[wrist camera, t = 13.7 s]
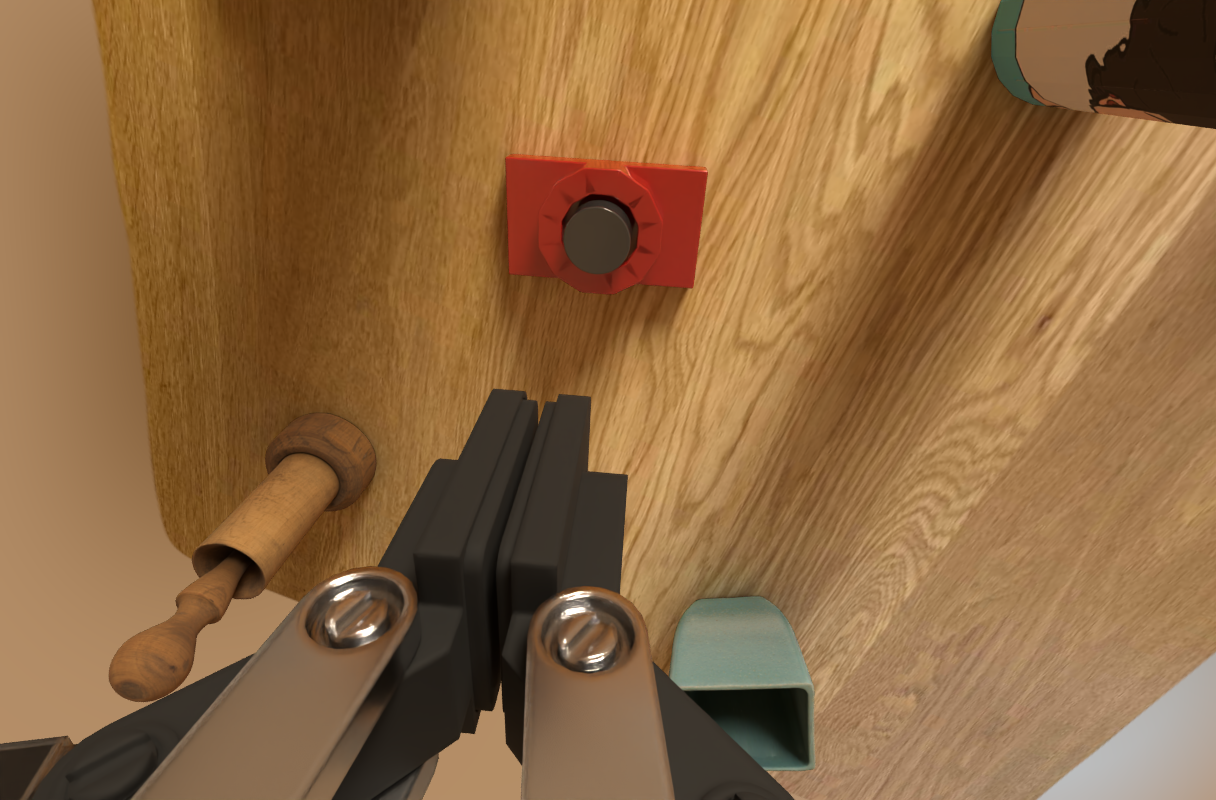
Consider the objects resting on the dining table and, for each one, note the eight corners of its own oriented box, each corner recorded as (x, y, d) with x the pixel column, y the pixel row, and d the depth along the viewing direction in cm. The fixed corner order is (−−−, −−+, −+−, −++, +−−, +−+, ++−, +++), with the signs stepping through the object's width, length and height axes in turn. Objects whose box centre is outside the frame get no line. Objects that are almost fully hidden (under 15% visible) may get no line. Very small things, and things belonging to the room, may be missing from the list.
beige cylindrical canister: (1002, 131, 29) (1277, 194, 16) (979, -26, 26) (1291, -108, 13) (1166, 64, 27) (1632, 72, 14) (1161, -113, 24) (1739, -310, 11)
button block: (513, 268, 34) (500, 286, 32) (510, 152, 31) (495, 161, 29) (692, 282, 34) (694, 301, 31) (706, 165, 31) (710, 176, 28)
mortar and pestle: (300, 394, 40) (61, 616, 24) (392, 443, 41) (222, 684, 25) (271, 462, 43) (42, 699, 27) (357, 506, 44) (186, 756, 28)
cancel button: (567, 261, 31) (562, 272, 30) (568, 196, 29) (563, 204, 28) (630, 266, 31) (628, 277, 29) (634, 201, 29) (633, 209, 28)
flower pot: (665, 579, 45) (664, 689, 37) (788, 572, 43) (815, 685, 36) (678, 659, 49) (680, 773, 41) (791, 654, 48) (815, 771, 40)
